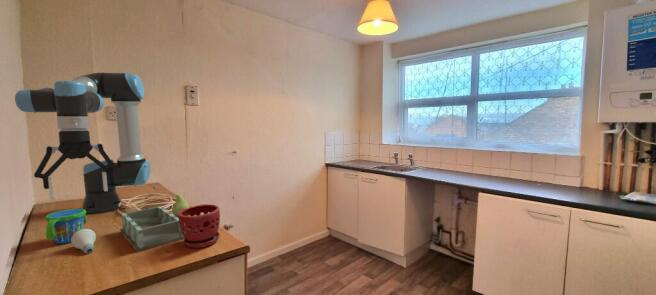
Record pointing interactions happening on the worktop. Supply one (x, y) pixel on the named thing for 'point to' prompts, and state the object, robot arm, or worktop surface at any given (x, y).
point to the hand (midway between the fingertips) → (80, 194)
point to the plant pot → (200, 225)
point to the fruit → (179, 204)
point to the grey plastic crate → (150, 228)
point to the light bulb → (84, 240)
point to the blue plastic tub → (65, 224)
